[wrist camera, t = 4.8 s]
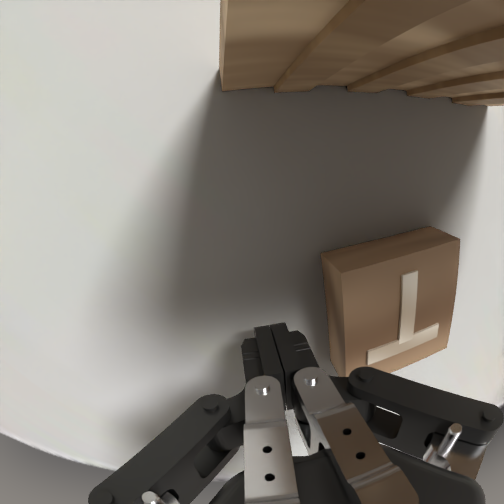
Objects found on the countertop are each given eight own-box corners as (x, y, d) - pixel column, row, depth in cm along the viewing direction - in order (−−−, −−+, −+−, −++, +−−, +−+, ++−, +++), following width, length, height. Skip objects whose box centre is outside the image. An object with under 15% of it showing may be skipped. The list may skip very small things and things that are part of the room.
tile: (318, 251, 15) (342, 274, 12) (426, 224, 15) (461, 239, 12) (328, 357, 17) (346, 390, 14) (422, 324, 17) (447, 348, 14)
